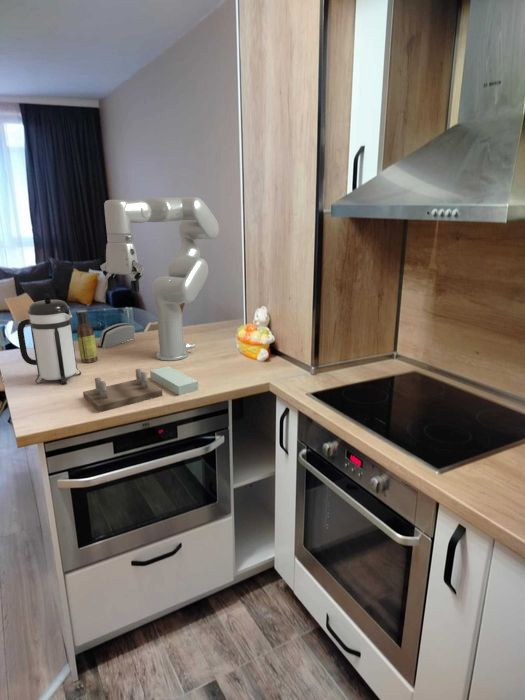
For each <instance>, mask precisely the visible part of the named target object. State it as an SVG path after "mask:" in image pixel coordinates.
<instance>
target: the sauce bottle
mask: <svg viewBox="0 0 525 700" xmlns="http://www.w3.org/2000/svg"><path fill="white" fill-rule="evenodd" d="M75 314H76V316H77V326H76V329H75V330H76V331H75V332H76V337H77V344H78V350H79V355H80V356H79V357H80V359H81V363H85V364H89V363H91V364H92V363H94V362H97V361H98V359H99V358H98V348H97V343H96V338H95V337H96V336H95V331H94V330H93V327H92V325H91V323H90V321H89V320H90V319H89V311H88V310H87V309H82V310H76V313H75Z"/></svg>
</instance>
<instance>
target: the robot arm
mask: <svg viewBox="0 0 525 700" xmlns="http://www.w3.org/2000/svg"><path fill="white" fill-rule="evenodd" d="M103 205H104V217H105V226H106V227H105V228H106V237H107V239H106V240H107V243H106V245H105V247H106V249H105V262H104V263H102V264H100V266H99V267H100V269H101V271H102V274H103V276H105V279H106V280H107V286H108V287H107V289H108V291H109V292H113V291H116V290H117V280H116V278H115V277H116V275H123V276H125V275H126V276H129V278H130V279H131V281H130V288H131V289H130V290H131V293H132V294H135V293H139V292H140V282H139V281H140V280H141V278H142V276H143V273H144V271H145V267H144V266H143V265H141V264H140V263H139V261H138V256H137V250H136V247H135V244H134V243H132V241H133V240H134V236H133V235H132V231H131V229H132V228H131V224H142V223H146V222H147V223H167V222H177V221H180V222H179V225H178V231H179V232H178V234H179V238H180V247H179V249H178V251H177V252H176V254H175V255H174V257H173V259H172V261H170V263H169V266H168V269H167V274H168V276H167V275H165V276H159V277H156V278H155V280H154V281H153V282H152V286H151V289H152V290H151V291H152V295H153V299H154V302H155V307H156V308H155V309H156V318H157V320H156V321H157V333H158V344H159V351H158V352H157V353H156V354H155V358H156V359H158V360H160V361H171V362H172V361H177V360H182V359H186V358H188V357H189V351H188V350H191V349H195V348H196V344H195V343H194V342H193V343H188V342H187V343H185V342H184V328H183V327H184V325H183V313H182V312H183V311H182V308H181V306H180V304H190V303H192V302H194V301H195V300H196V297H198V295H199V293H200V291H201V289H202V288H203V286H204V284H205V283H206V280H207V278H208V275H209V265H208V263H207V261H206V260H205V259H203V258H202V257H201V250H200V247H199V245H198V243H197V240H213V239H215V238H216V237H218V234H219V232H220V227H219V226H220V225H219V223H218V221H217V219H216V217H215V216H214V214H213V212H212V211H211V209H210V208H209V207H208V206H207V204H206V203H205V201H204V200H203V199H201V198H200V197H196V196H186V197H184V196H182V197H181V196H180V197H179V196H175V197H151V198H150V197H149V198H141V199H108V200H105V202H104V203H103ZM179 303H180V304H179Z"/></svg>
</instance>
